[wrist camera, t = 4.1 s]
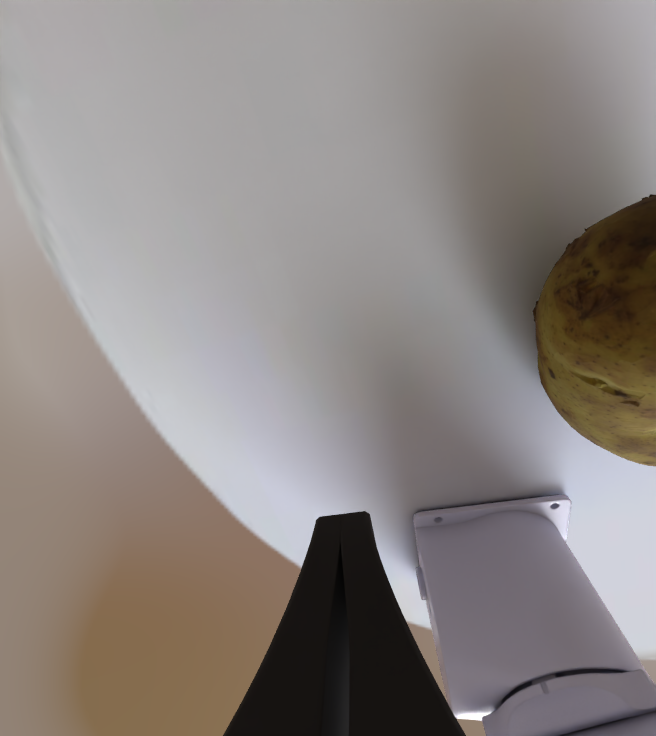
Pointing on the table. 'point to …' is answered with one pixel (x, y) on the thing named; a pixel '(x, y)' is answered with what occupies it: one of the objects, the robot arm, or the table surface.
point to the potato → (604, 333)
